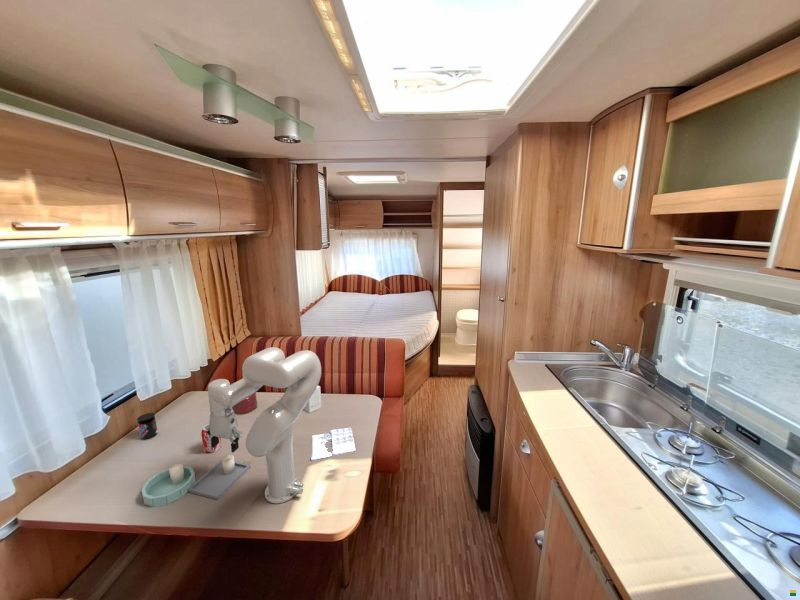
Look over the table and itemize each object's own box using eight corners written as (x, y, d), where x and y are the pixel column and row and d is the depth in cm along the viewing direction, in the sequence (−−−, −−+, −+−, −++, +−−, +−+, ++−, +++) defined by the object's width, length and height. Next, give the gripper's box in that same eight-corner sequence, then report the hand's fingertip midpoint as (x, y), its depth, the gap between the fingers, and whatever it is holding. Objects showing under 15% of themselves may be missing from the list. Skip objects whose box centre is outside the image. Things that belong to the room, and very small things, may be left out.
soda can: (201, 456, 139) (198, 432, 136) (206, 446, 145) (203, 422, 143) (219, 453, 141) (216, 429, 138) (223, 443, 147) (220, 420, 145)
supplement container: (141, 434, 153) (137, 415, 151) (158, 430, 157) (155, 411, 155) (139, 442, 148) (136, 422, 146) (157, 437, 152) (154, 417, 149)
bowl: (204, 478, 126) (203, 470, 125) (166, 511, 111) (164, 502, 110) (173, 470, 130) (172, 462, 129) (132, 502, 115) (130, 492, 114)
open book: (356, 454, 141) (356, 450, 140) (309, 462, 136) (309, 458, 136) (351, 429, 159) (351, 425, 158) (310, 435, 154) (310, 431, 154)
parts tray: (250, 468, 132) (250, 464, 131) (218, 501, 115) (217, 496, 115) (223, 462, 135) (222, 458, 135) (188, 493, 119) (187, 489, 119)
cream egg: (187, 477, 125) (185, 464, 124) (177, 485, 121) (175, 472, 120) (178, 475, 126) (176, 462, 125) (168, 483, 122) (166, 470, 121)
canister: (244, 416, 169) (241, 386, 165) (226, 411, 173) (223, 382, 170) (262, 404, 181) (259, 376, 177) (245, 400, 185) (242, 373, 182)
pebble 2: (237, 468, 131) (236, 455, 130) (229, 475, 127) (228, 462, 126) (229, 466, 132) (227, 453, 131) (220, 473, 128) (219, 460, 127)
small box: (315, 403, 182) (313, 383, 180) (321, 407, 178) (320, 386, 176) (303, 409, 176) (301, 388, 173) (309, 413, 172) (308, 391, 169)
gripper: (246, 408, 125) (249, 446, 129) (211, 401, 129) (215, 438, 133) (232, 419, 118) (236, 458, 122) (195, 411, 122) (200, 449, 126)
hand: (225, 447), depth 127 cm, fingers open, 9 cm apart
